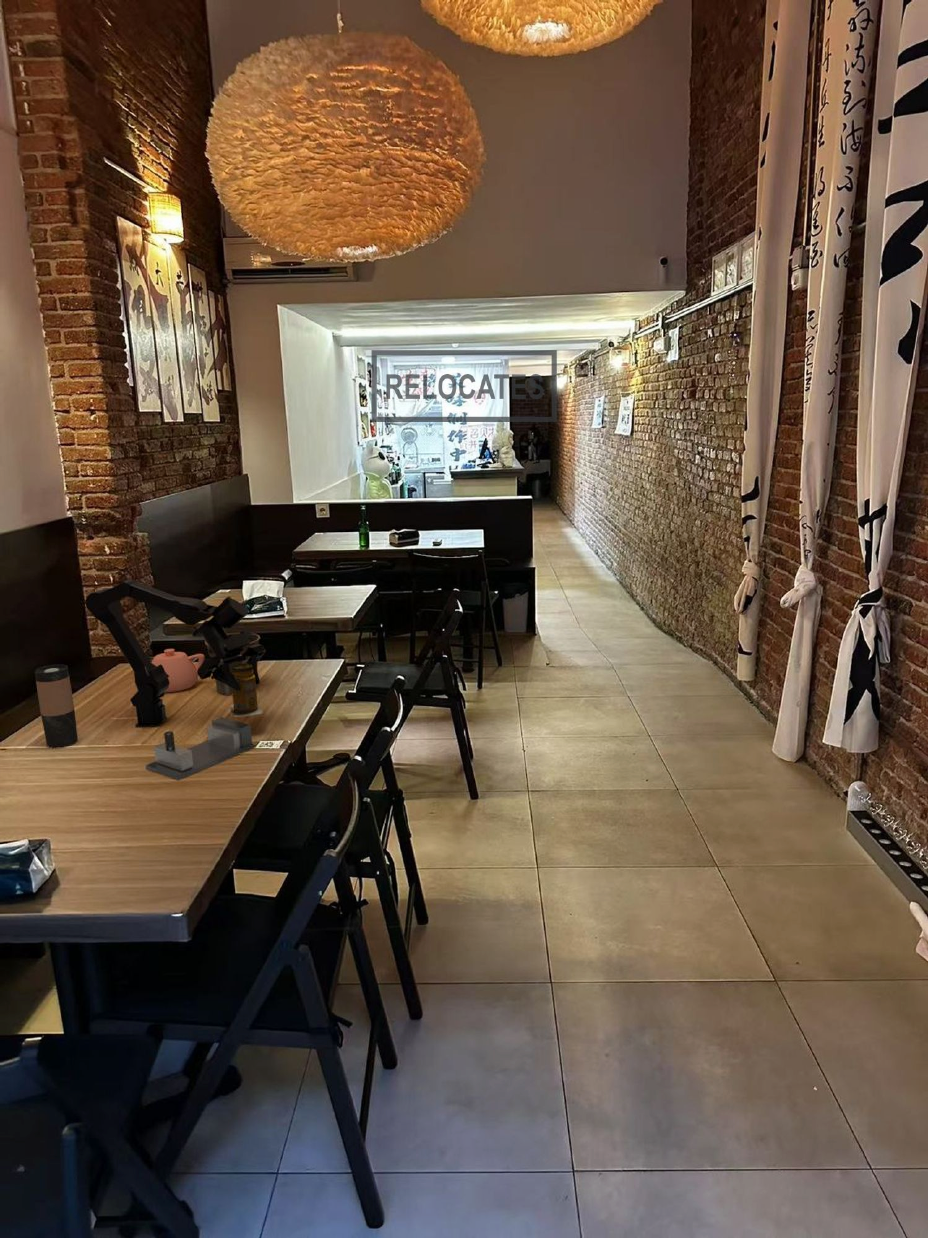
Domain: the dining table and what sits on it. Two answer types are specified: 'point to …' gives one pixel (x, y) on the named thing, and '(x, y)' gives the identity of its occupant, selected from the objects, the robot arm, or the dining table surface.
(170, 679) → the teapot
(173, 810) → the dining table surface
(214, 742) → the vise
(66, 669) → the travel mug
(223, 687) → the plant pot
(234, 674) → the condiment
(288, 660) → the dining table surface
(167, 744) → the sliding jaw
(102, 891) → the dining table surface
